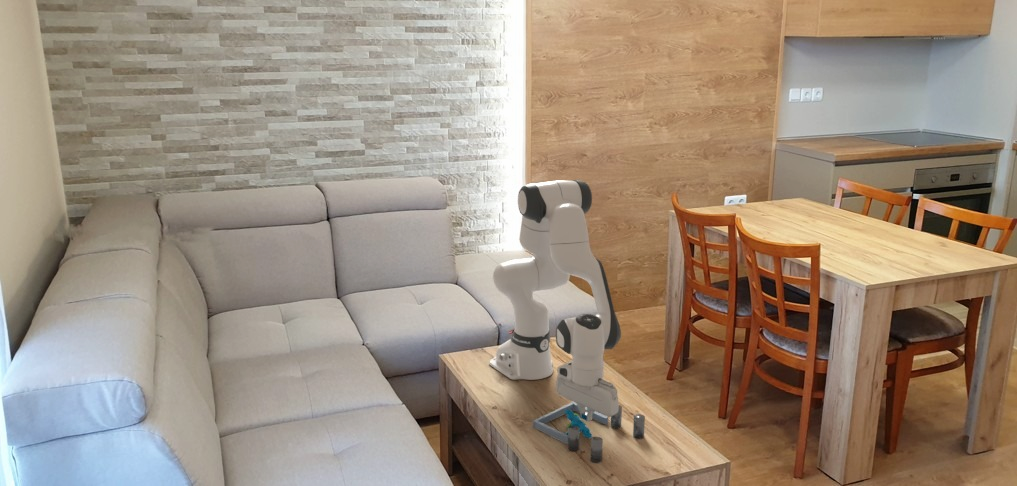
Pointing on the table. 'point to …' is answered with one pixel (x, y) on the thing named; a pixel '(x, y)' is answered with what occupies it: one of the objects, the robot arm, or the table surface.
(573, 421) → the gear
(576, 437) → the spacer posts
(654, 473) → the table surface
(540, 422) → the u-shaped bent rod
